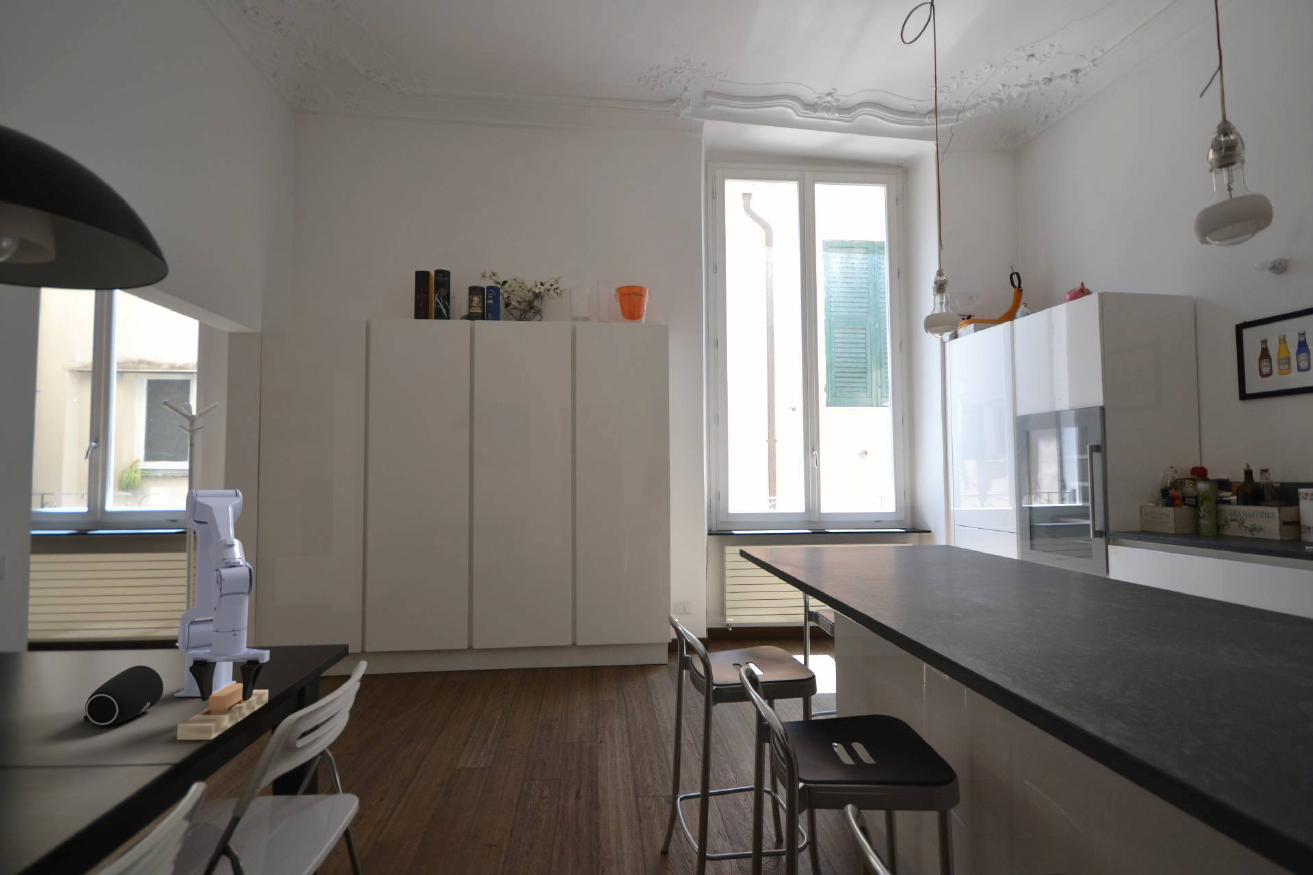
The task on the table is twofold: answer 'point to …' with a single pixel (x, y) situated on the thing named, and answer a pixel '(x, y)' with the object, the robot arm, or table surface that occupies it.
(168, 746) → the table surface
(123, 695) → the black cylindrical speaker
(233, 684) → the clip
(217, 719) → the rail
